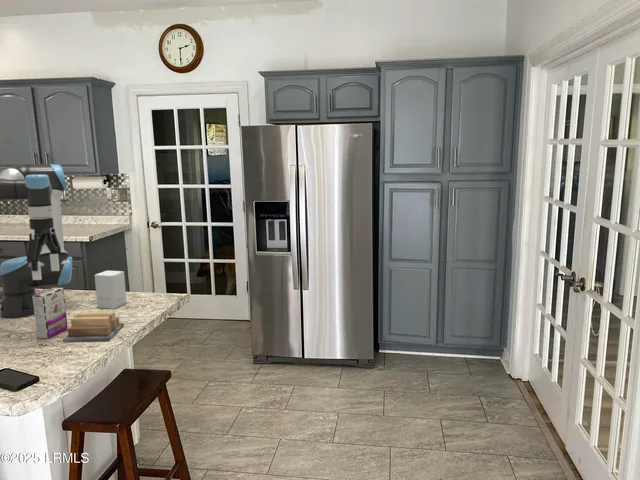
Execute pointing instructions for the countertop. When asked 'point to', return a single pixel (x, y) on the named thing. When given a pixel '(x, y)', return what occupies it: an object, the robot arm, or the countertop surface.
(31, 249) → the robot arm
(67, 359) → the countertop surface
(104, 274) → the supplement box
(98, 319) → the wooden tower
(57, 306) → the candy bar box
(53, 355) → the countertop surface
